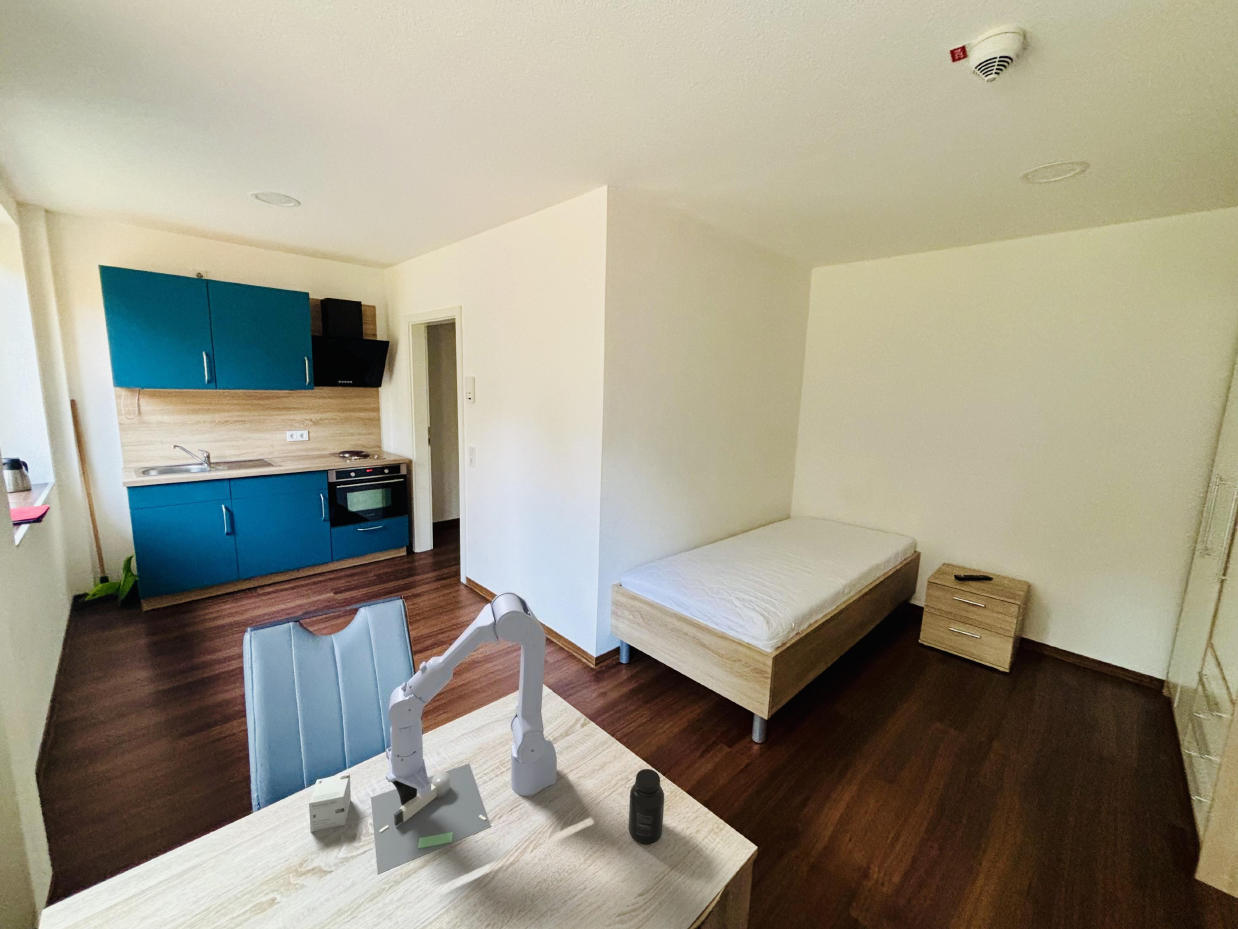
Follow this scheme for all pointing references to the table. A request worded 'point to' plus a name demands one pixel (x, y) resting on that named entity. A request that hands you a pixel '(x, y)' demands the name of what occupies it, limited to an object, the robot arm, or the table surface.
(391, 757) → the robot arm
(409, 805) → the peg lever
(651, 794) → the supplement bottle
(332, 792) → the skincare box
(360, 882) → the table surface
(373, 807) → the tuner board
